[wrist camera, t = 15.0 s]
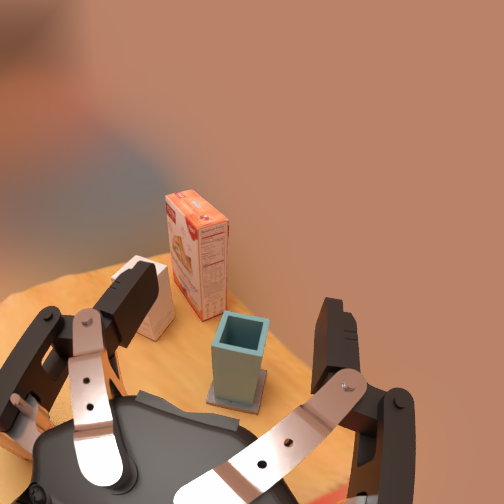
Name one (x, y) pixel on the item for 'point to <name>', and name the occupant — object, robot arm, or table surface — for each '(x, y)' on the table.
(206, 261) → the cracker box
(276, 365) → the table surface
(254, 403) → the plate
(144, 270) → the robot arm
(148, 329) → the supplement box
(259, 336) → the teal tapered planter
